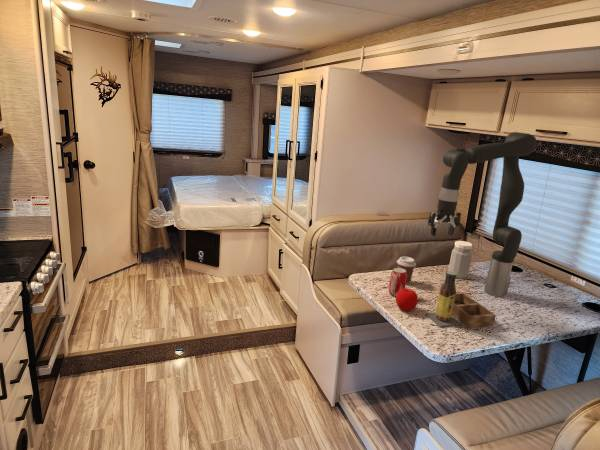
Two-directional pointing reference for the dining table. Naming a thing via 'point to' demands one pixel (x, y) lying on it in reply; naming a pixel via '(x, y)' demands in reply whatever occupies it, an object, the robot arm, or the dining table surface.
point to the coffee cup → (407, 266)
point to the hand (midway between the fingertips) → (441, 235)
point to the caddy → (471, 312)
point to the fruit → (406, 299)
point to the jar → (461, 259)
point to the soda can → (397, 280)
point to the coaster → (443, 323)
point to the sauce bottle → (446, 297)
